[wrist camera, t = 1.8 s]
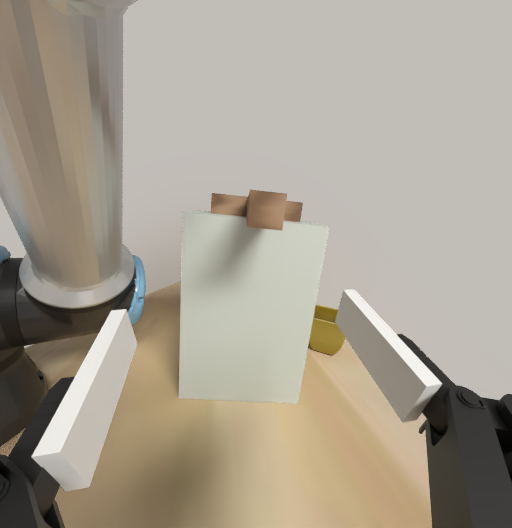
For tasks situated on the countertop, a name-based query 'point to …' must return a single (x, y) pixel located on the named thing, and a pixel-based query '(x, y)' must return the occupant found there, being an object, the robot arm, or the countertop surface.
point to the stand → (246, 307)
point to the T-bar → (258, 208)
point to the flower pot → (325, 331)
